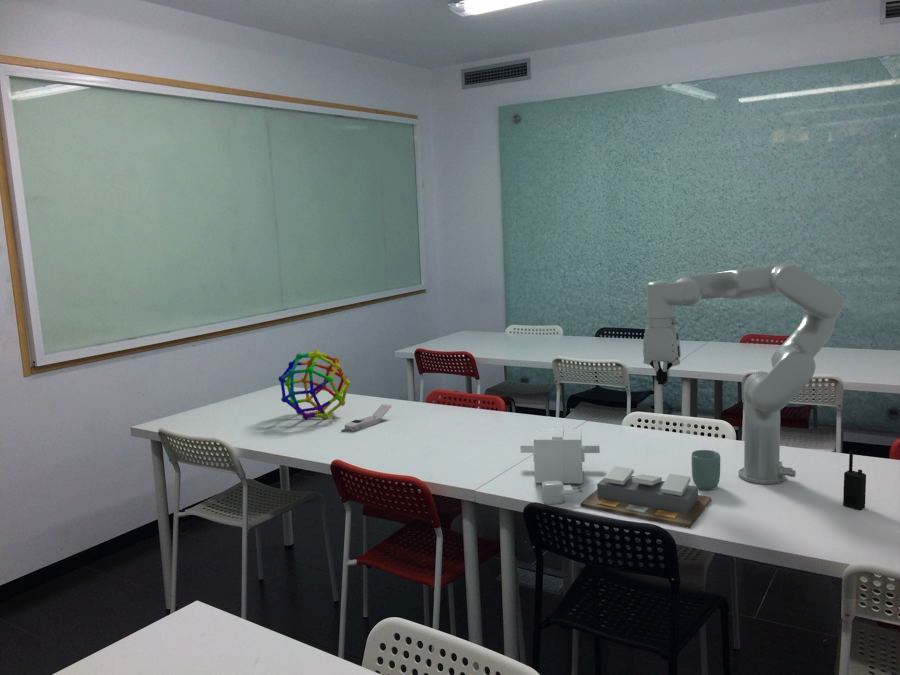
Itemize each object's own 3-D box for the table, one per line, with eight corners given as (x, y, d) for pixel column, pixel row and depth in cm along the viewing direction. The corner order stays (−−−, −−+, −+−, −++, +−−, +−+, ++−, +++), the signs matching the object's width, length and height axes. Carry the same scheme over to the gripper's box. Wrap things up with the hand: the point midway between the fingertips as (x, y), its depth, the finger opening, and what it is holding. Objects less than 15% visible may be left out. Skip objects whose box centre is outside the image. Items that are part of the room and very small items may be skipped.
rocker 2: (661, 481, 198) (661, 477, 198) (651, 485, 192) (652, 480, 192) (642, 478, 202) (642, 474, 202) (631, 481, 195) (632, 477, 195)
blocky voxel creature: (599, 462, 237) (601, 487, 210) (524, 461, 242) (516, 485, 215) (598, 418, 236) (599, 437, 209) (523, 418, 241) (515, 437, 213)
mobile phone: (393, 405, 298) (349, 419, 279) (394, 418, 299) (350, 434, 280) (382, 403, 302) (338, 417, 283) (384, 417, 303) (340, 432, 284)
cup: (688, 482, 210) (688, 450, 209) (716, 482, 209) (716, 449, 208) (695, 492, 203) (695, 458, 201) (723, 492, 202) (723, 458, 200)
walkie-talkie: (866, 507, 186) (868, 452, 184) (859, 511, 184) (861, 455, 182) (847, 502, 190) (848, 448, 188) (840, 505, 188) (842, 451, 186)
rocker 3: (690, 480, 194) (690, 476, 193) (681, 496, 188) (681, 492, 187) (670, 477, 197) (669, 473, 196) (660, 492, 191) (660, 488, 190)
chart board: (711, 500, 196) (711, 496, 196) (690, 528, 180) (689, 523, 180) (608, 482, 213) (608, 478, 213) (580, 506, 197) (580, 502, 197)
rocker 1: (633, 472, 203) (633, 468, 203) (623, 484, 197) (623, 480, 196) (615, 469, 206) (614, 466, 206) (604, 481, 200) (604, 477, 199)
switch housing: (698, 500, 194) (698, 484, 194) (687, 513, 186) (687, 496, 186) (611, 485, 209) (610, 470, 208) (597, 497, 201) (597, 481, 200)
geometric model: (369, 357, 309) (312, 336, 320) (330, 369, 282) (270, 345, 293) (355, 421, 316) (300, 398, 327) (316, 438, 289) (258, 413, 300)
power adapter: (580, 497, 204) (580, 477, 203) (583, 504, 199) (583, 484, 198) (541, 499, 204) (541, 479, 203) (543, 506, 199) (543, 486, 198)
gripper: (690, 321, 209) (691, 382, 212) (640, 320, 217) (641, 379, 220) (682, 325, 203) (683, 388, 205) (631, 324, 211) (633, 384, 214)
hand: (662, 383), depth 213 cm, fingers closed
